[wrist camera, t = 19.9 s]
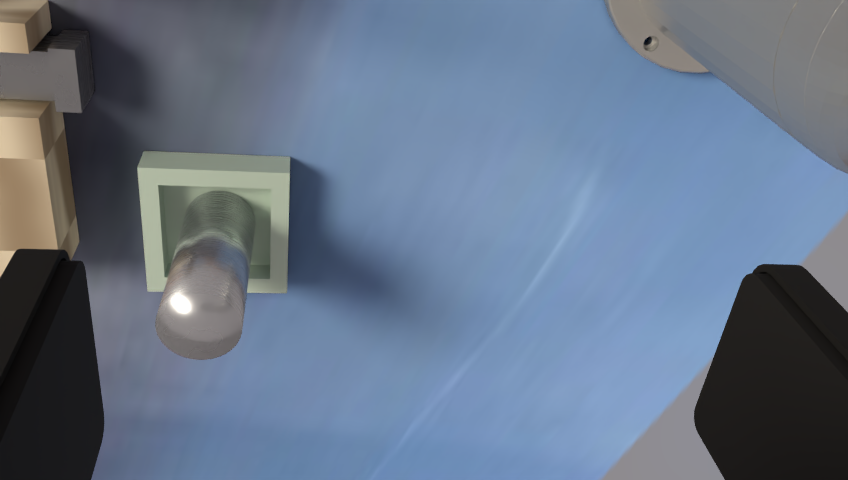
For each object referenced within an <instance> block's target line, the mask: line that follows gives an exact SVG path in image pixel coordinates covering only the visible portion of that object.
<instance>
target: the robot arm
mask: <svg viewBox="0 0 848 480" xmlns="http://www.w3.org/2000/svg"><path fill="white" fill-rule="evenodd" d="M604 2H605V5H606V8H607V11H608V14H609V17H610V19H611V20H612V22H613V24H614V26H615V27H616V29H617V31H618V33H619V34H620V35H621V36H622V37H623V38H624V39H625V41H626V42H627V43H628V44H629V45H630V46H631V47H632V48H633V49H634V50H635V51H636V52H638V53H639V54H640V55H641V56H642V57H644V58H645V59H647V60H649V61H651V62H653V63H655V64H657V65H659V66H660V67H663V68H667V69H671V70H674V71H678V72H687V73H706V72H711V73H712V74H714V75H715V76H716V77H717V78H719V79H720V80H721V81H722V82H724V83H725V84H726V85H727V86H729V87H730V88H731V89H732V90H734V91H735V92H736V93H737V94H739V95H740V96H741V97H742V98H744V99H745V100H746V101H747V102H749V103H750V104H751V105H752V106H754V107H755V108H756V109H758V110H759V111H760V112H761V113H763V114H764V115H765V116H766V117H768V118H769V119H770V120H771V121H773V122H774V123H775V124H776V125H778V126H779V127H780V128H781V129H783V130H784V131H785V132H786V133H788V134H789V135H790V136H791V137H793V138H794V139H795V140H797V141H798V142H799V143H801V144H802V145H803V146H804V147H806V148H807V149H809V150H810V151H811V152H812V153H814V154H815V155H816V156H818V157H819V158H820V159H822V160H823V161H825V162H827V163H828V164H830V165H831V166H833V167H835V168H836V169H838V170H841V171H843V172H845V173H847V174H848V0H604ZM648 37H649V40H648V41H647V42H646V43H644V41H645V39H646V38H648ZM694 420H695V426H696V430H697V432H698V434H699V435H700V437H701V439H702V441H703V443H704V444H705V446H706V448H707V449H708V451H709V453H710V455H711V456H712V458H713V460H714V462H715V463H716V465H717V466H718V468H719V470H720V472H721V474H722V475H723V477H724V479H725V480H848V312H847V311H846V310H845V309H844V308H843V307H842V306H841V305H840V304H839V303H838V302H837V301H836V300H835V299H834V298H833V297H832V296H831V295H830V294H829V293H828V292H827V291H826V290H825V289H824V287H823V286H822V285H821V284H820V283H819V282H818V281H817V280H816V279H815V278H814V277H813V276H812V275H811V274H810V273H809V272H808V271H807V270H806V269H805V268H803V267H802V266H799V265H778V264H762V265H760V266H758V267H757V268H756V269H755V270H754V271H753V273H752V274H748V275H746V276H745V277H744V278H743V280H742V282H741V285H740V288H739V290H738V293H737V296H736V298H735V301H734V304H733V307H732V309H731V312H730V315H729V317H728V320H727V323H726V325H725V328H724V331H723V334H722V336H721V339H720V342H719V344H718V347H717V350H716V352H715V355H714V358H713V361H712V363H711V366H710V369H709V371H708V374H707V377H706V380H705V382H704V385H703V388H702V390H701V393H700V396H699V399H698V401H697V404H696V407H695V411H694ZM103 432H104V411H103V403H102V395H101V388H100V380H99V372H98V364H97V357H96V349H95V341H94V333H93V325H92V318H91V310H90V302H89V294H88V287H87V279H86V271H85V266H84V264H83V262H82V261H70V258H69V255H68V253H67V251H66V250H62V249H17V250H16V252H15V253H14V254H13V256H12V258H11V259H10V261H9V263H8V265H7V267H6V268H5V270H4V272H3V274H2V275H1V277H0V480H91V478H92V474H93V471H94V467H95V464H96V460H97V457H98V453H99V450H100V446H101V443H102V438H103Z"/></svg>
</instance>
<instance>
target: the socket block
mask: <svg viewBox="0 0 848 480" xmlns="http://www.w3.org/2000/svg"><path fill="white" fill-rule="evenodd" d="M51 29H52V26H51V18H50V11H49V3H48V0H0V52H7V53H24V54H29V53H30V52H31V51H32V50H33V49H34V48H35V47H36V45H37V44H38V43H39V42H40V41H41V40H42V39H43V38H44V36H45V35H46V34H47V33H48V32H49V31H50V30H51ZM79 242H80V241H79V233H78V226H77V218H76V210H75V203H74V195H73V187H72V180H71V172H70V164H69V157H68V149H67V141H66V134H65V126H64V118H63V112H56V107H55V101H41V100H21V99H1V98H0V277H1V275H2V274H3V272H4V270H5V268H6V267H7V265H8V263H9V261H10V259H11V258H12V256H13V254H14V253H15V252H16V250H17V249H62V250H66V251H67V253H68V255H69V258H70V261H71V260H72V258H73V255H74V253H75V251H76V249H77V246H78V244H79Z"/></svg>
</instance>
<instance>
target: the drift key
mask: <svg viewBox="0 0 848 480" xmlns="http://www.w3.org/2000/svg"><path fill="white" fill-rule="evenodd" d="M94 92H95V87H94V78H93V68H92V59H91V49H90V40H89V31H78V30H63V31H62V32H61V33H60V34H59V35H58V36H50V35H45V36H44V38H43V39H42V40H41V41H40V42H39V43H38V44H37V45H36V47H35V48H34V49H33V50H32V51H31V52H30V53H29V54H24V53H7V52H0V98H1V99H21V100H41V101H55V107H56V112H71V113H82V112H83V110H84V109H85V107H86V105H87V104H88V102H89V100H90V99H91V97H92V95H93V94H94Z"/></svg>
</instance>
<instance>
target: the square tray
mask: <svg viewBox="0 0 848 480" xmlns="http://www.w3.org/2000/svg"><path fill="white" fill-rule="evenodd" d="M137 170H138V182H139V194H140V206H141V218H142V230H143V242H144V254H145V266H146V278H147V290H148V291H154V292H164V289H165V285H166V281H167V278H168V274H169V271H170V267H171V263H172V260H173V256H174V253H175V249H176V246H177V242H178V238H179V235H180V231H181V228H182V224H183V221H184V217H185V213H186V210H187V208H188V206H189V204H190V203H191V202H192V201H193V200H194V199H195V198H196V197H197V196H199V195H201V194H203V193H206V192H209V191H227V192H231V193H234V194H236V195H238V196H240V197H241V198H243V199H244V200H245V201H246V202H247V203H248V204H249V205H250V206H251V208H252V210H253V212H254V214H255V218H256V226H255V234H254V242H253V249H252V257H251V265H250V273H249V280H248V288H247V293H287V273H288V231H289V189H290V157H282V156H257V155H233V154H208V153H183V152H159V151H144V152H143V154H142V157H141V160H140V162H139V165H138V167H137Z"/></svg>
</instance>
